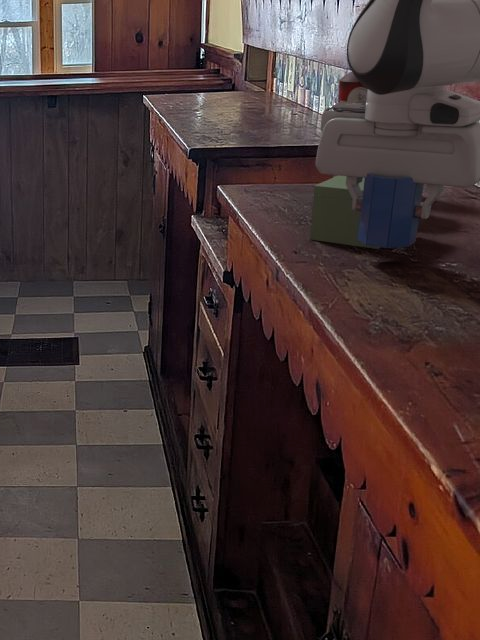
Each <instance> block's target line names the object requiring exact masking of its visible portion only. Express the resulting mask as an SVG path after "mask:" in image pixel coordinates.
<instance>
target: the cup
mask: <svg viewBox="0 0 480 640" xmlns="http://www.w3.org/2000/svg"><path fill="white" fill-rule="evenodd" d="M424 186H425V184H422V183H414V182H413V179H412V178H410V177H405V178H390V177H379V176H375V175H373V174H367V177H366V178H365V180H364V189H363V198H362V207H361V215H360V224H359V233H358V240H359V241H361V242H362V243H364V244H365V245H370V246H376V247H381V248H384V249H395V248H409V247H410V246H412V245H413V244H415V243H416V241H417V234H418V228H419V220H420V218H414V212H415V211H414V210H415V205H416V204H418V203H419V202H422V198H423V192H424Z"/></svg>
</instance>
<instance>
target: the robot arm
mask: <svg viewBox="0 0 480 640" xmlns="http://www.w3.org/2000/svg"><path fill="white" fill-rule="evenodd" d="M346 60H347V64H348V66H349V68H350V71H351V72H353V74H354V75H355V77H356V78H357V79H358V81H359V82H360V83H361V84H362V85H363V86H365V87H366V88H367V89H368V91H367V100H366V103H351V104H346V103H341V102H338V101H337V102H334V103H333V104H332V105H330V106H328V107H326V108H325V109H324V110H323V112H322V114H321V117H320V132H321V135H320V139H319V143H318V145H317V152H316V156H315V157H316V158H315V168H316V169H317V171H318V172H319V174H320V175H328V176H329V175H330V176H334V175H339V176H347V177H346V186H347V188H348V190H349V192H350V194H351V197H352V198H353V202H352V210H354V211H361V207H362V198H363V194H362V191H361V189H360V186H359V183H361V182H362V180H363V178H366V177H367V174H373V175H375V176H379V177H390V178H405V177H410V178H412V179H413V182H414V183H422V184H424V185H426V186H425V187H426V188H425V192H426V193H428V194H429V195H428V196H427V197H426V198H425V200H424V201H421V202H419V203H418V204H416V205H415V210H414V211H415V212H414V218H419V220H420V219H421V220H427V219H428V218H429V217H430V215H431V210H432V209H431V208H432V205H433V204H434V202H435V201H436V200H437V198H438V197H439V196H440V195H441V194H442V192H444V187H452V188H453V187H455V188H465V189H468V188H471V187H474V186H475V185H476V184H478V183H479V182H480V122H478V121H480V100H478V99H475V98H472V97H469V96H466V95H464V94H460V93H457V92H455V91H453V90H450V89H447V88H446V87H447V86H452V85H459V84H468V83H477V82H480V0H368V2H367V3H366V5H365V6H364V7H363V9H362V10H361V12H360V13H359V15H358V16H357V18H356V20H355V22H354V23H353V25H352V27H351V30H350V32H349V35H348V38H347V44H346ZM348 111H350V112H348Z"/></svg>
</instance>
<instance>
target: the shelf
mask: <svg viewBox="0 0 480 640" xmlns="http://www.w3.org/2000/svg"><path fill="white" fill-rule="evenodd" d="M333 177H334V176H333ZM333 177H332V178H328V179H327V180H325V181H322V182H320V183H317V184H315V185H314V187H313V197H312V198H313V199H312V210H311V222H310V233H309V240H311V241H319V242H324V243H325V242H326V243H333V244H338V245H346V246H352V247H353V246H354V247H360V248H367V249H373V250H380V249H381V248H382V247H376V246H370V245H365V244H364V243H362V242H361V241H359V240H358V233H359V224H360V215H361V211H354V210H352V202H353V198H352V197H351V194H350V192H349V190H348V188H347V186H346V177H347V176H339V175H338V176H336V177H334V178H333ZM364 180H365V178H363V180H362V182H361V183H359V186H360V189H361V191H362V194H363V189H364Z"/></svg>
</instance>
